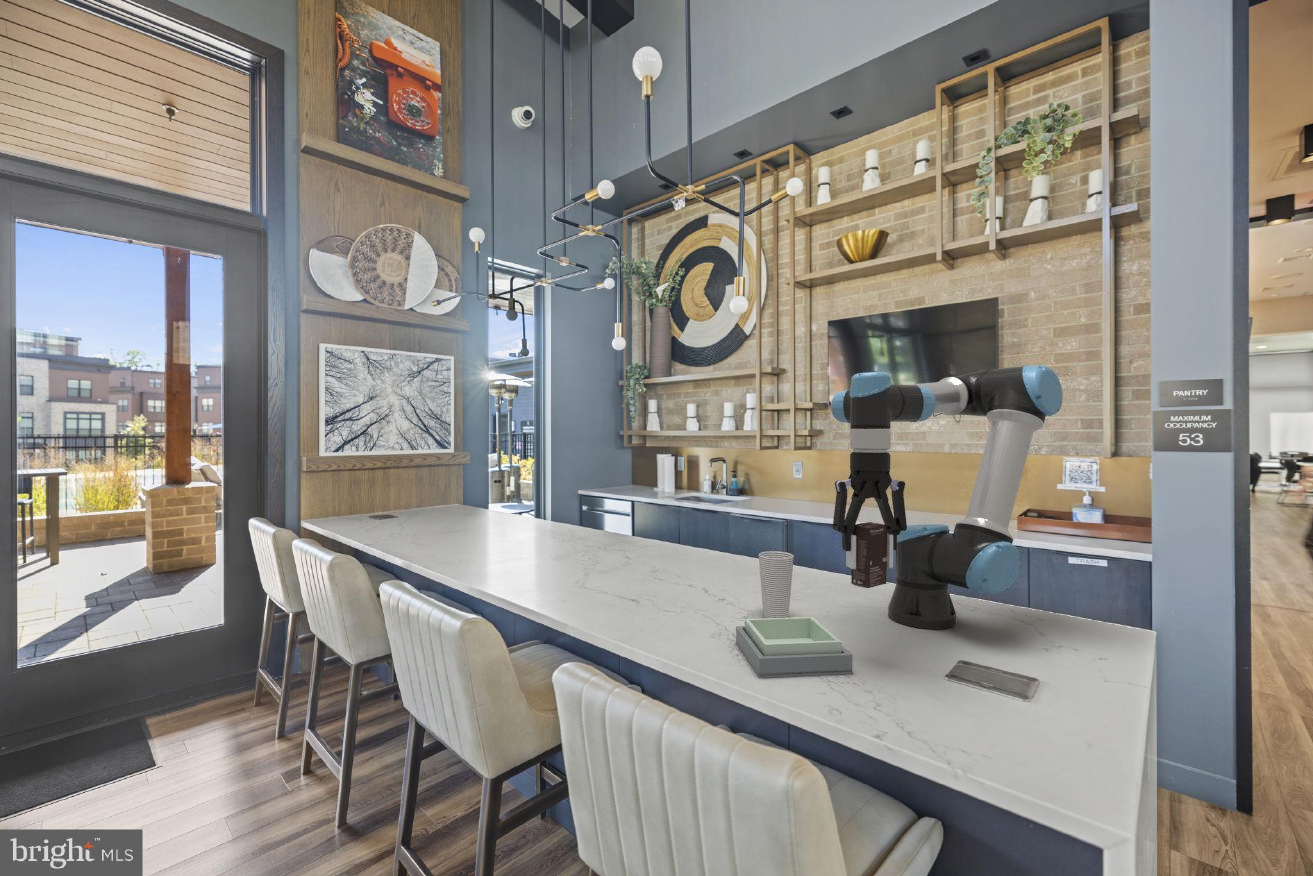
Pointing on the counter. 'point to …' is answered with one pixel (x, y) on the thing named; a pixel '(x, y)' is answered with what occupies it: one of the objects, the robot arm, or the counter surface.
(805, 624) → the crates
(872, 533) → the box
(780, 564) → the cup
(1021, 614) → the counter surface
